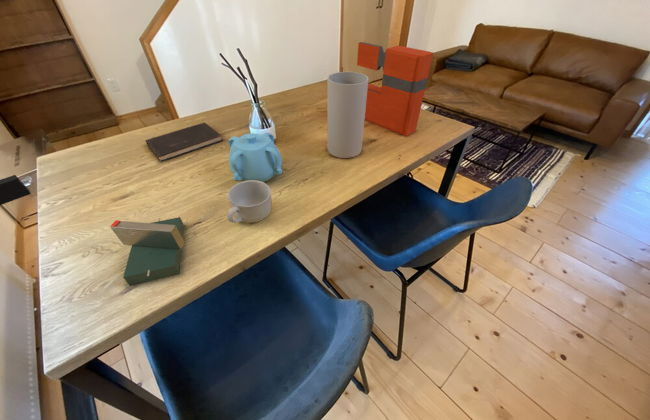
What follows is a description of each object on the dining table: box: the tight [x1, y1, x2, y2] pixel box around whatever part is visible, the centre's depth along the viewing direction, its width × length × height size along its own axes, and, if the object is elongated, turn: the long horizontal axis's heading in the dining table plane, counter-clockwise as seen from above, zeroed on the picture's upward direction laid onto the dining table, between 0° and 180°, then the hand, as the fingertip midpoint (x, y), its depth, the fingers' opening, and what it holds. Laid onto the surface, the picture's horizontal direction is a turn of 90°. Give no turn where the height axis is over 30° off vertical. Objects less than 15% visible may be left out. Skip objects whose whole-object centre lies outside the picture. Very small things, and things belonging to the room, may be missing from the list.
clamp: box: [356, 41, 434, 137], centre depth 110 cm, size 9×35×28 cm, turn 44°
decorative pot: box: [228, 132, 283, 183], centre depth 86 cm, size 16×16×14 cm
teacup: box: [226, 180, 273, 224], centre depth 72 cm, size 14×11×8 cm
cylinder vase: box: [326, 71, 369, 159], centre depth 92 cm, size 12×12×25 cm
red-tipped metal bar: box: [109, 220, 186, 249], centre depth 62 cm, size 14×2×6 cm, turn 84°
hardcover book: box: [144, 122, 223, 163], centre depth 105 cm, size 16×23×2 cm
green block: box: [109, 216, 197, 286], centre depth 65 cm, size 18×18×3 cm
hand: (22, 184), depth 40 cm, fingers closed
